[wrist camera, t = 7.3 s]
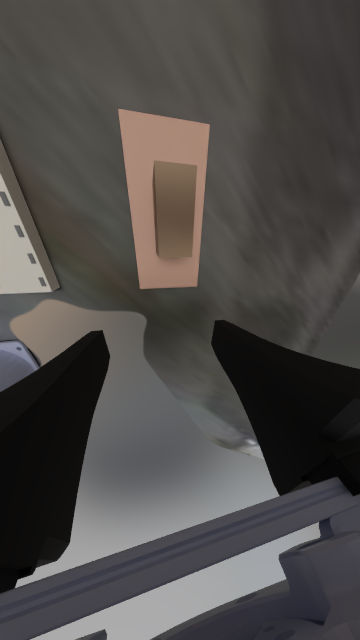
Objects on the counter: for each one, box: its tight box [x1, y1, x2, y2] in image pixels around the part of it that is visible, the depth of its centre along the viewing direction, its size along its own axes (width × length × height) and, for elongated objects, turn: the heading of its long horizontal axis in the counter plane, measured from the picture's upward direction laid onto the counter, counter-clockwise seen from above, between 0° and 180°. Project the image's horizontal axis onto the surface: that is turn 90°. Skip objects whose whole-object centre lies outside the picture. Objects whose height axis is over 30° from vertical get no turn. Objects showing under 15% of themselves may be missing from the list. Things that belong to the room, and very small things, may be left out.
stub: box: [118, 109, 210, 289], centre depth 12 cm, size 12×6×6 cm, turn 179°
